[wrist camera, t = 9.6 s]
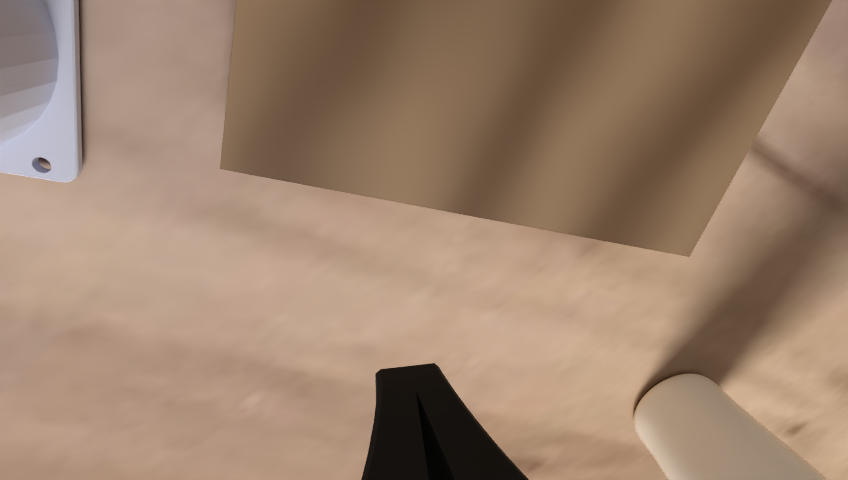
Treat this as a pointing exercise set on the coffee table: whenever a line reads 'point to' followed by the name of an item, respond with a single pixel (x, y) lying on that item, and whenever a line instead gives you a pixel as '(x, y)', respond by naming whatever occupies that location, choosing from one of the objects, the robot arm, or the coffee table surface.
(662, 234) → the seat board
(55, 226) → the coffee table surface
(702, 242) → the coffee table surface
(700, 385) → the drinking glass
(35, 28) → the robot arm
